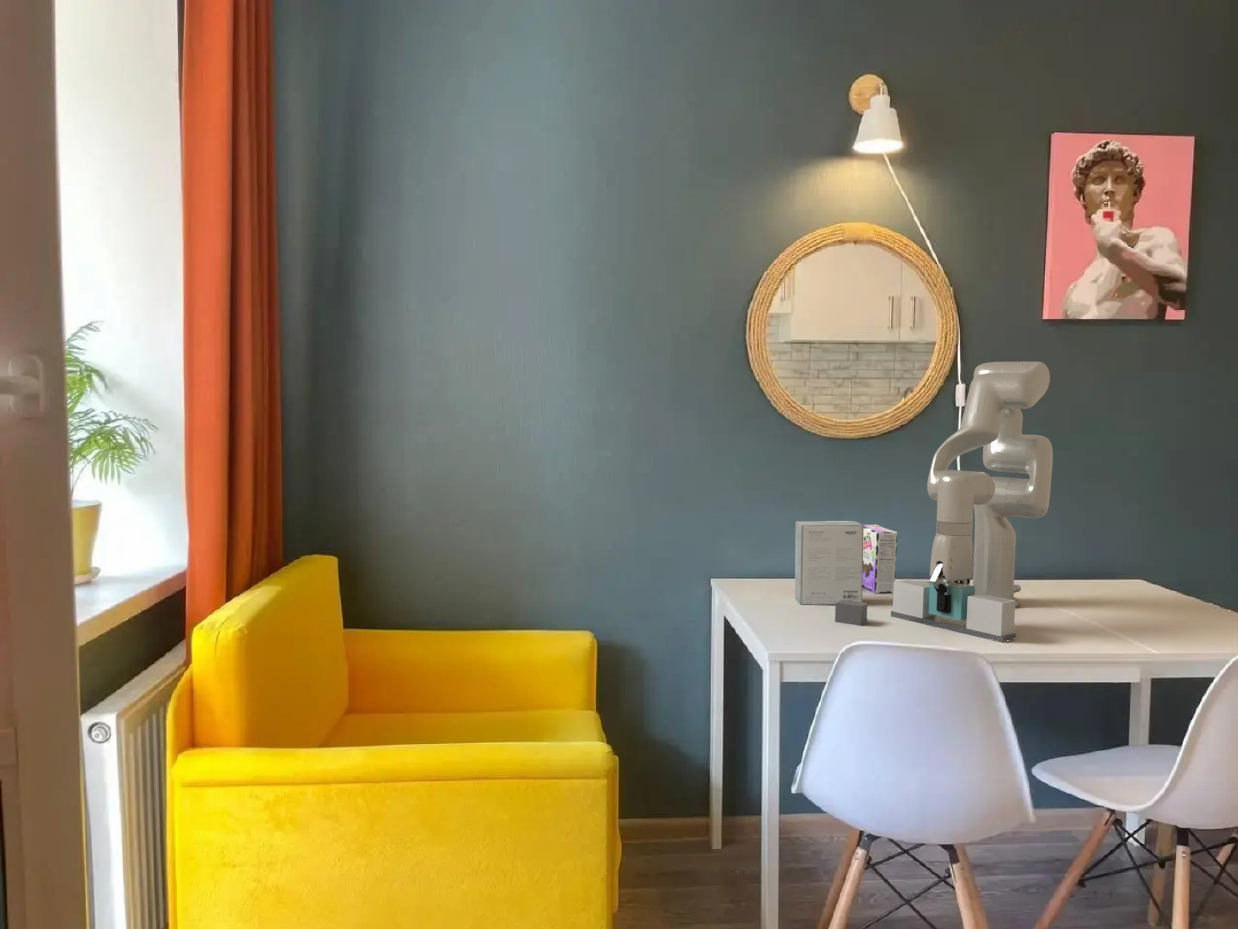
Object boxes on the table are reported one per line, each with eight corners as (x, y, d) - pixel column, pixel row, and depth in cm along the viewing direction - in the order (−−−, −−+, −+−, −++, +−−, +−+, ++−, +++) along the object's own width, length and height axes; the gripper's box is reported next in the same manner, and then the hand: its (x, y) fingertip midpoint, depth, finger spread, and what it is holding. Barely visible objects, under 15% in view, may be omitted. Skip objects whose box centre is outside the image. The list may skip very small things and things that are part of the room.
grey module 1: (892, 611, 212) (893, 581, 212) (905, 608, 215) (906, 579, 215) (922, 618, 206) (923, 587, 206) (935, 615, 209) (936, 584, 208)
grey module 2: (966, 628, 197) (967, 596, 197) (979, 625, 200) (980, 593, 200) (1000, 636, 191) (1002, 602, 190) (1013, 633, 194) (1015, 600, 193)
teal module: (941, 610, 208) (942, 579, 207) (973, 617, 201) (975, 585, 201) (928, 613, 205) (929, 582, 204) (960, 620, 198) (961, 588, 198)
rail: (890, 616, 213) (890, 611, 213) (903, 613, 216) (904, 608, 216) (1002, 642, 191) (1003, 636, 190) (1015, 639, 194) (1016, 633, 193)
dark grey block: (841, 619, 210) (841, 599, 210) (866, 622, 207) (867, 603, 206) (834, 622, 207) (835, 602, 206) (860, 626, 203) (861, 606, 203)
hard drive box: (854, 599, 231) (857, 520, 230) (862, 605, 224) (865, 525, 222) (793, 598, 231) (795, 520, 230) (799, 605, 224) (801, 524, 222)
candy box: (855, 583, 251) (857, 524, 250) (875, 583, 252) (877, 524, 251) (874, 594, 238) (876, 531, 237) (896, 593, 238) (898, 531, 237)
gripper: (961, 524, 210) (958, 602, 211) (916, 530, 200) (913, 612, 201) (991, 528, 204) (988, 609, 205) (946, 534, 194) (943, 619, 195)
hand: (951, 609), depth 203 cm, fingers closed on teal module, 5 cm apart
